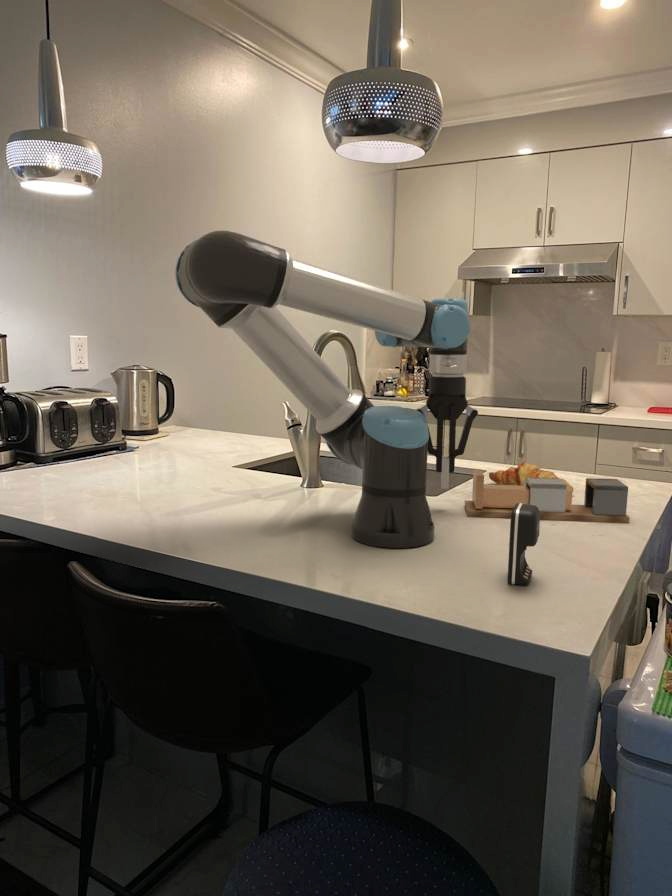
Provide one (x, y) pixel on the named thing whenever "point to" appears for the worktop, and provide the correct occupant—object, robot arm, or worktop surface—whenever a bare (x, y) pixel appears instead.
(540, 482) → the grey concrete cube
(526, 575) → the battery charger
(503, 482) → the croissant
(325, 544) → the worktop surface
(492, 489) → the wood grain post
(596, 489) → the grey box
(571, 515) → the board
